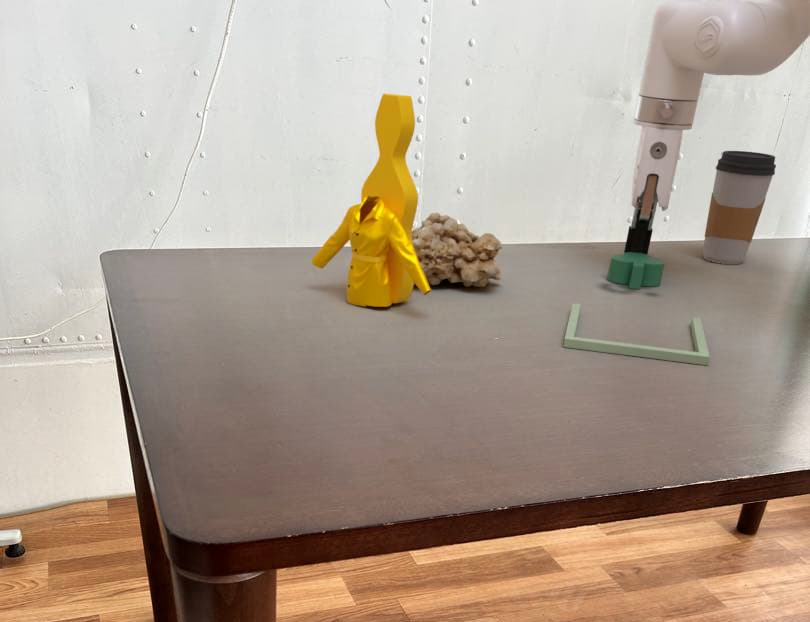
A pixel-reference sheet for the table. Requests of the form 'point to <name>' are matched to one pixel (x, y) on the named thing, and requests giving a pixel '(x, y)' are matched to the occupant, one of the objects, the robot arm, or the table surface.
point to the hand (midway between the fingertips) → (634, 257)
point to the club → (635, 270)
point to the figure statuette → (383, 218)
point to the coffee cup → (736, 204)
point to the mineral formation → (455, 252)
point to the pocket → (639, 350)
